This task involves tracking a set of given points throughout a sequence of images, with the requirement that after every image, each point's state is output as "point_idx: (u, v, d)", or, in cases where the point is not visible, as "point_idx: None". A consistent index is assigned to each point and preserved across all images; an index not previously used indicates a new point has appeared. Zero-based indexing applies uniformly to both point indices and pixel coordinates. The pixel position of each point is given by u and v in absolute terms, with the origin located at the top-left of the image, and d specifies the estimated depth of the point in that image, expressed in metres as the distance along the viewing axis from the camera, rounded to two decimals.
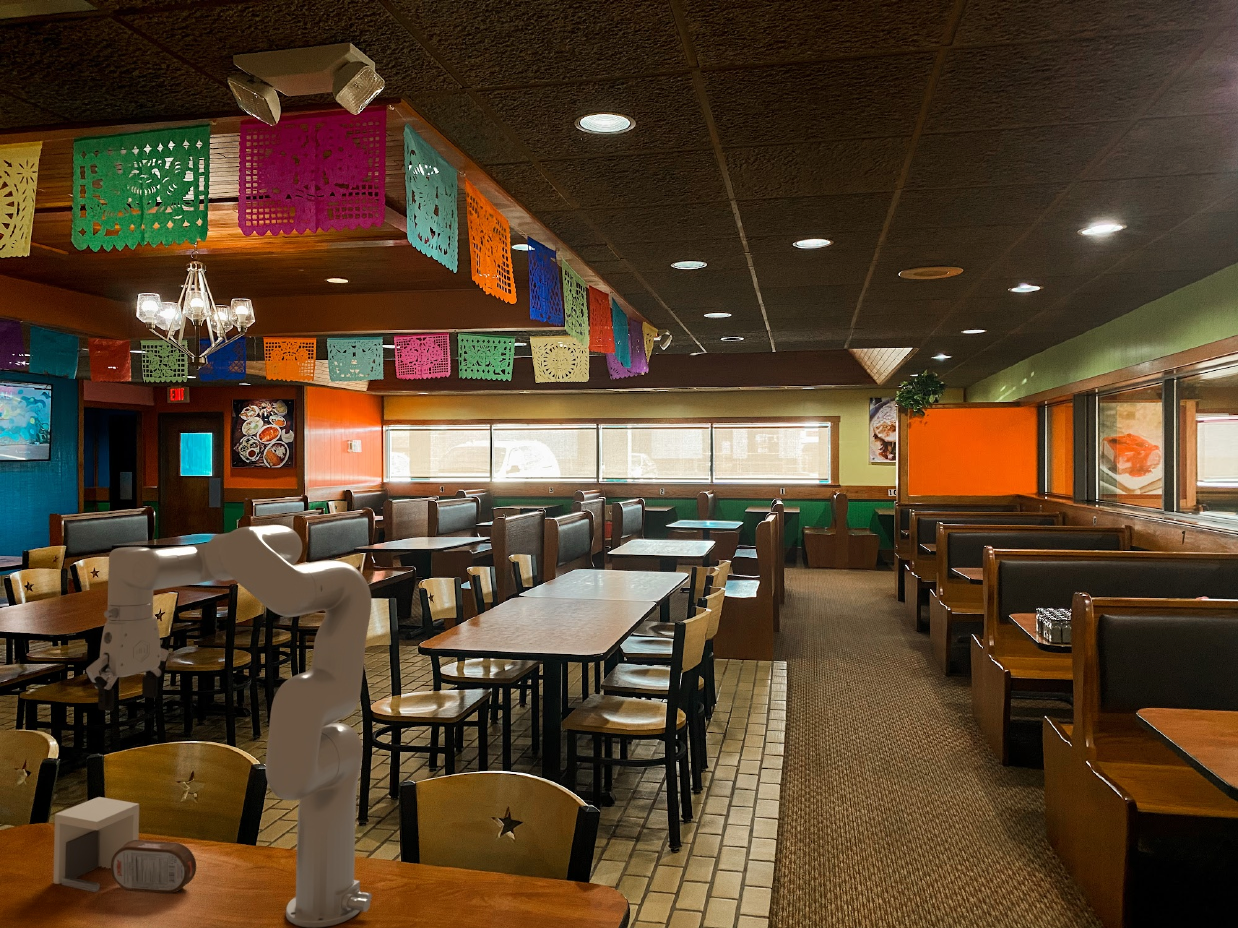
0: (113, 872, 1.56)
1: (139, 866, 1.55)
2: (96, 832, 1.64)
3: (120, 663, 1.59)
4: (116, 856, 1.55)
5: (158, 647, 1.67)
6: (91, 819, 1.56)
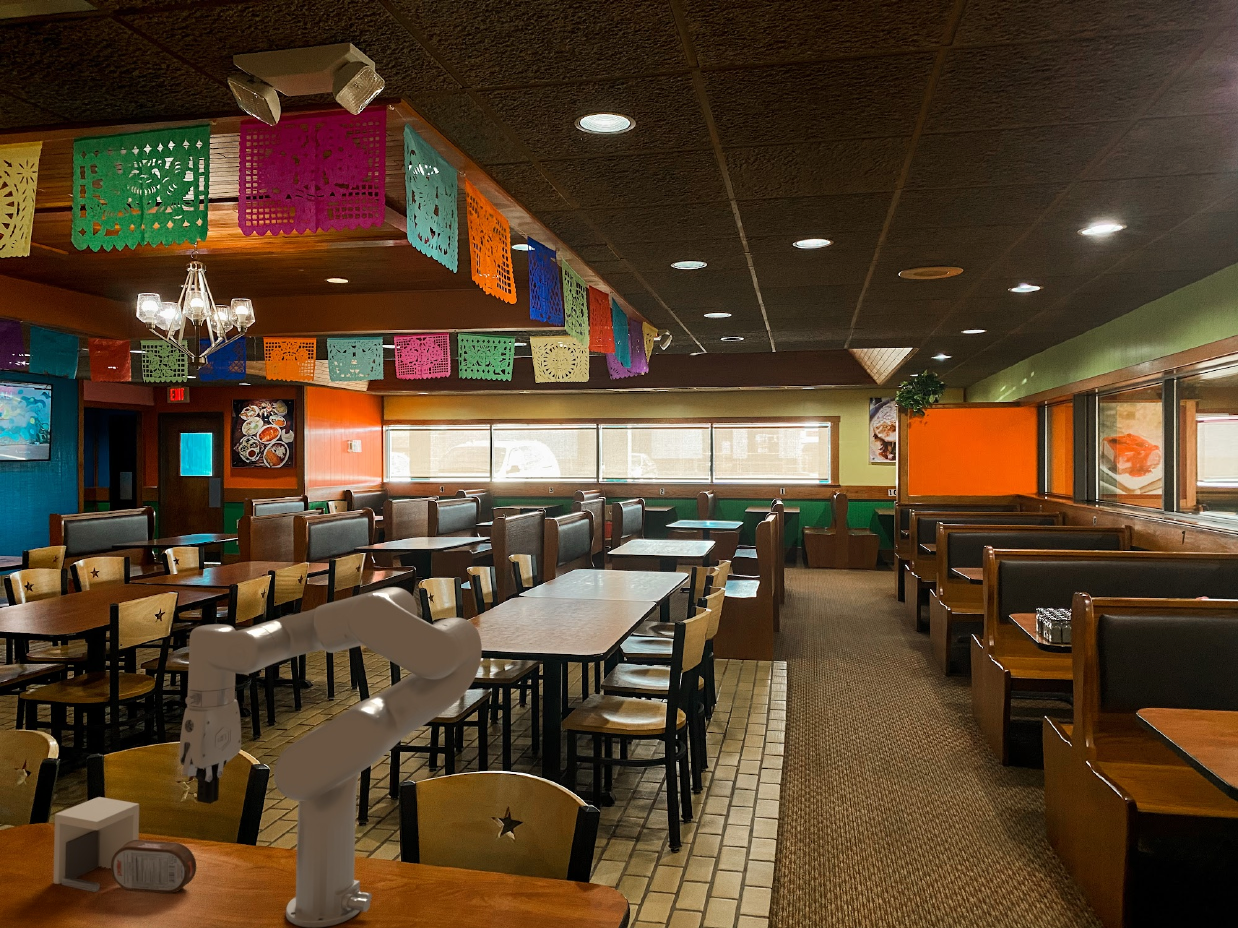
0: (113, 872, 1.56)
1: (139, 866, 1.55)
2: (96, 832, 1.64)
3: (202, 754, 1.48)
4: (116, 856, 1.55)
5: (239, 732, 1.56)
6: (91, 819, 1.56)
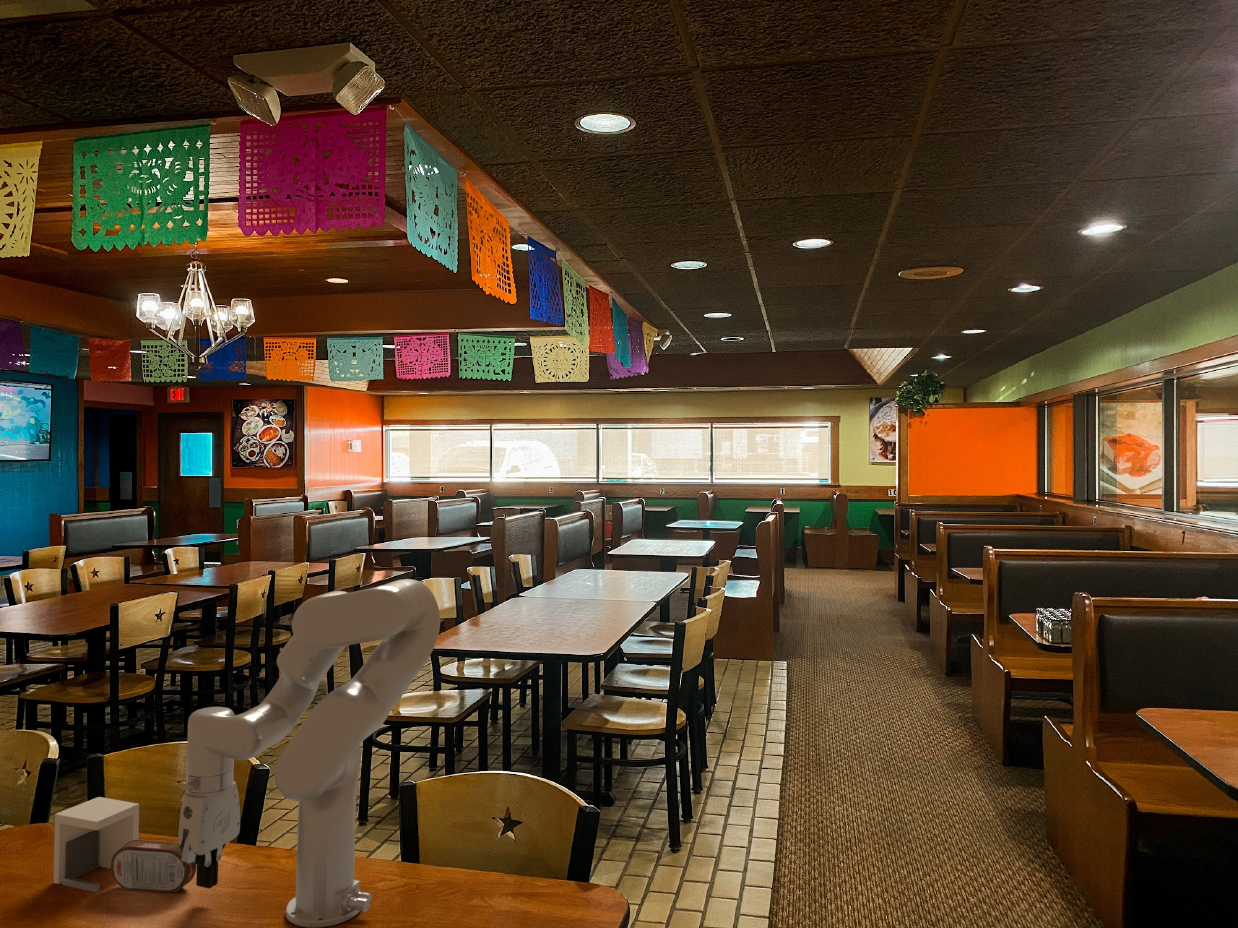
0: (113, 872, 1.56)
1: (139, 866, 1.55)
2: (96, 832, 1.64)
3: (201, 840, 1.47)
4: (116, 856, 1.55)
5: (238, 814, 1.55)
6: (91, 819, 1.56)
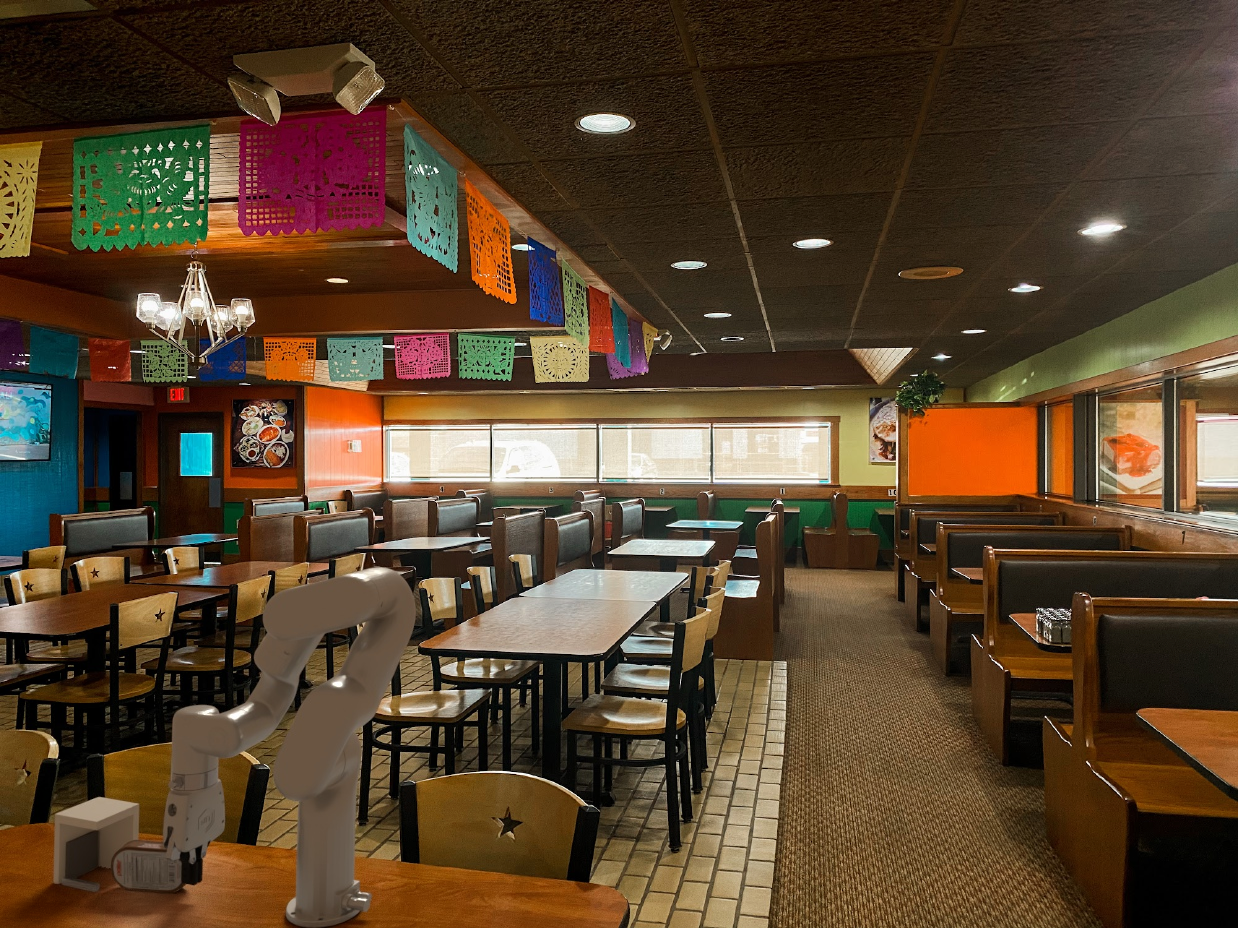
0: (113, 872, 1.56)
1: (139, 866, 1.55)
2: (96, 832, 1.64)
3: (185, 838, 1.48)
4: (116, 856, 1.55)
5: (223, 812, 1.56)
6: (91, 819, 1.56)
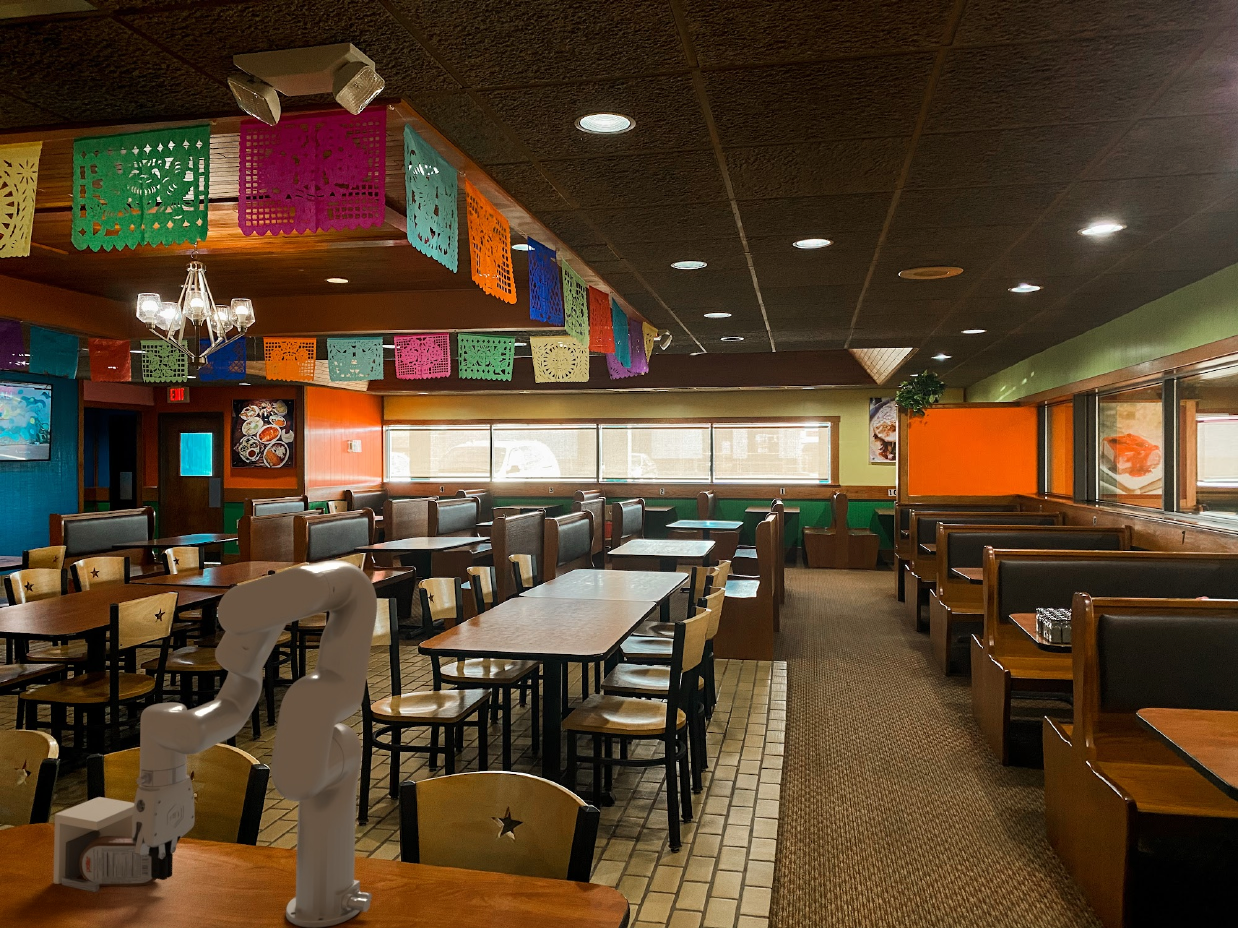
0: (82, 869, 1.57)
1: (110, 861, 1.57)
2: (96, 832, 1.64)
3: (154, 833, 1.51)
4: (85, 853, 1.56)
5: (192, 807, 1.59)
6: (91, 819, 1.56)
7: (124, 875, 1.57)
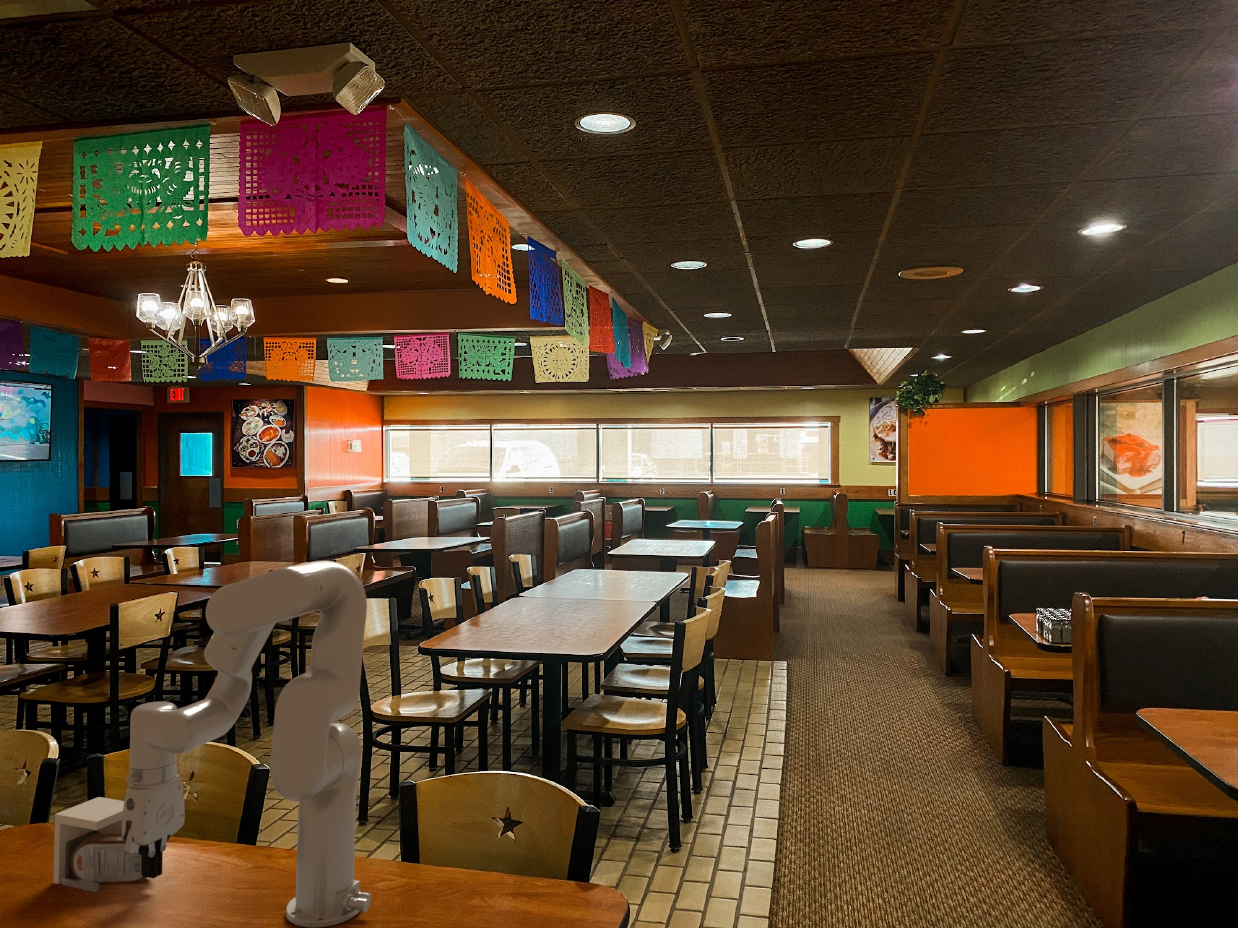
0: (73, 867, 1.57)
1: (101, 859, 1.57)
2: (96, 832, 1.64)
3: (143, 831, 1.51)
4: (77, 851, 1.57)
5: (182, 806, 1.59)
6: (91, 819, 1.56)
7: (116, 873, 1.58)
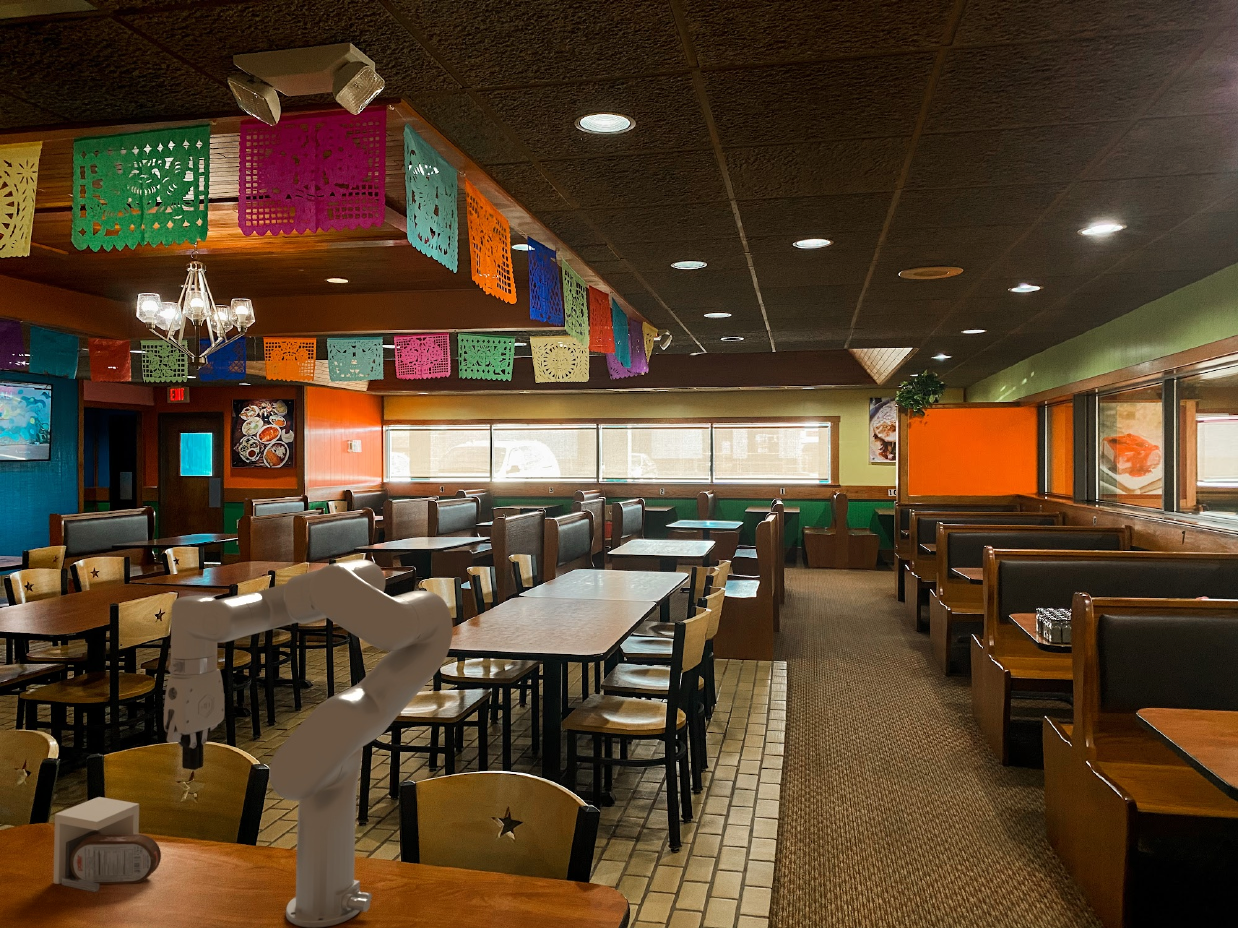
0: (73, 868, 1.57)
1: (101, 859, 1.57)
2: (96, 832, 1.64)
3: (186, 720, 1.51)
4: (77, 852, 1.57)
5: (222, 700, 1.59)
6: (91, 819, 1.56)
7: (116, 873, 1.58)
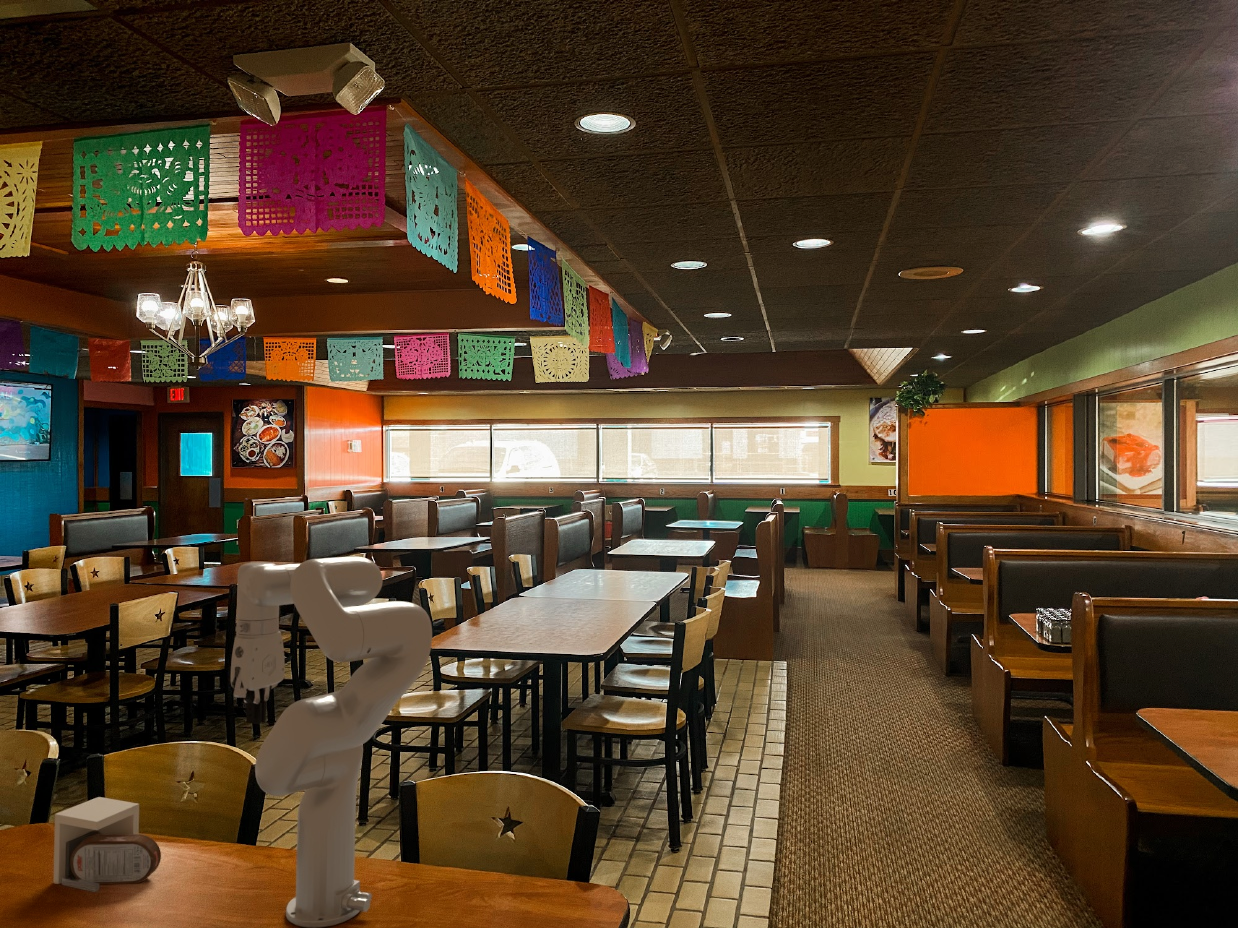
0: (73, 868, 1.57)
1: (101, 859, 1.57)
2: (96, 832, 1.64)
3: (251, 677, 1.62)
4: (77, 852, 1.57)
5: (283, 660, 1.70)
6: (91, 819, 1.56)
7: (116, 873, 1.58)
